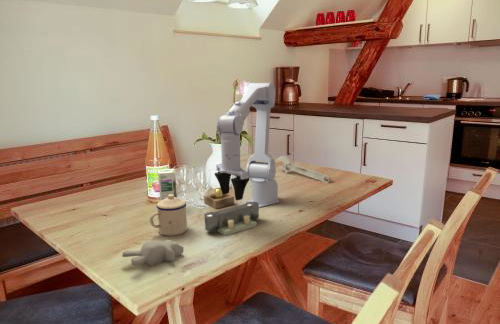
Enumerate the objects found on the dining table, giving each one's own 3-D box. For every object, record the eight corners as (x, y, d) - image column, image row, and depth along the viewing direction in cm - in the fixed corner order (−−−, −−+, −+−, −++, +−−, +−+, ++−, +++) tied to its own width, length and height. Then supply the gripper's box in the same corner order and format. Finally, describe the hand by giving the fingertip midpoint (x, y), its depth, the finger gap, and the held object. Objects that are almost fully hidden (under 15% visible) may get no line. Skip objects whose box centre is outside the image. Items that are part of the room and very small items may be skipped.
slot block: (222, 199, 154) (222, 191, 154) (234, 204, 148) (233, 196, 148) (204, 203, 150) (204, 195, 149) (215, 209, 144) (215, 201, 143)
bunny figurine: (189, 244, 106) (135, 255, 96) (188, 263, 107) (134, 275, 97) (171, 234, 113) (120, 243, 104) (171, 251, 114) (119, 261, 104)
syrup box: (161, 212, 141) (158, 173, 138) (160, 207, 147) (157, 169, 143) (177, 210, 143) (175, 171, 139) (176, 205, 148) (173, 167, 145)
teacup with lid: (178, 222, 132) (176, 188, 129) (193, 230, 125) (191, 195, 122) (144, 232, 124) (141, 196, 122) (158, 241, 118) (155, 204, 115)
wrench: (327, 189, 174) (276, 170, 194) (330, 188, 175) (278, 169, 195) (330, 172, 171) (277, 154, 191) (332, 171, 173) (279, 154, 192)
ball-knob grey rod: (253, 213, 135) (253, 200, 134) (261, 217, 132) (261, 204, 131) (202, 228, 124) (201, 214, 123) (209, 232, 120) (209, 218, 119)
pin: (221, 202, 150) (220, 187, 149) (223, 204, 148) (222, 189, 147) (215, 203, 150) (213, 188, 148) (217, 205, 147) (215, 190, 146)
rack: (240, 217, 135) (239, 207, 134) (256, 225, 128) (256, 215, 127) (209, 226, 128) (209, 215, 127) (225, 235, 121) (224, 224, 120)
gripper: (207, 152, 126) (209, 193, 129) (233, 160, 115) (234, 205, 118) (226, 149, 130) (227, 189, 133) (253, 156, 119) (253, 200, 122)
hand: (232, 196), depth 126 cm, fingers open, 7 cm apart
